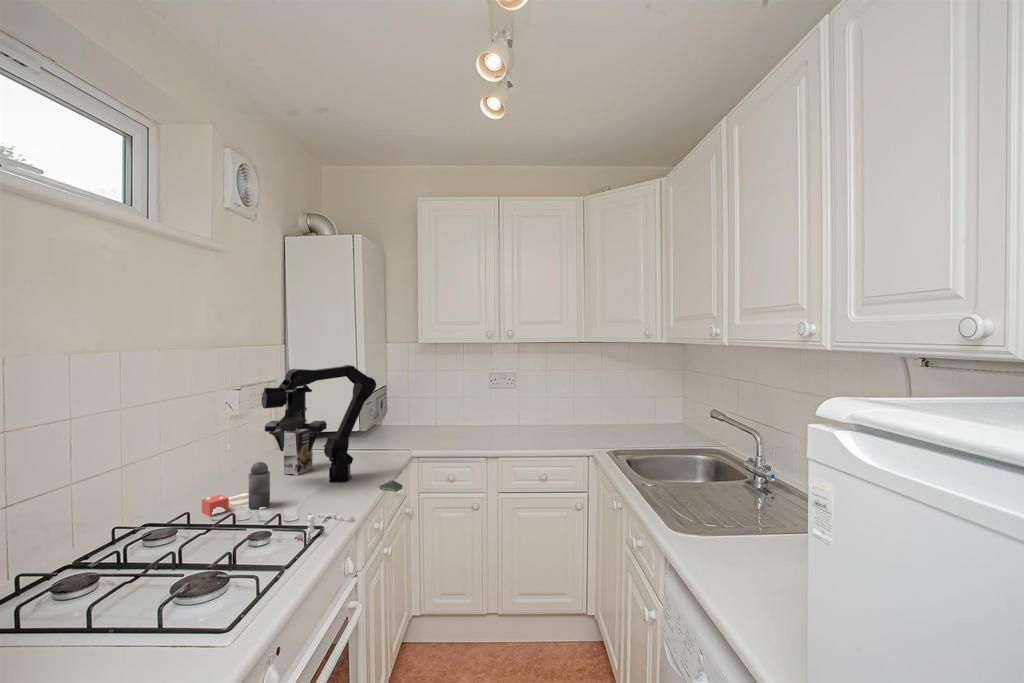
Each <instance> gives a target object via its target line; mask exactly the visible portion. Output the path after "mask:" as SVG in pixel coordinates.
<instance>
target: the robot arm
mask: <svg viewBox="0 0 1024 683" xmlns="http://www.w3.org/2000/svg"><path fill="white" fill-rule="evenodd" d="M345 377H346V378H347V379H348V380H349V381H350V382H351V383H352V384H353V387H352V398H351V401H350V402H349V405H348V407H347V409H346V410H345V411H346V412H345V414H344V416H343V418H342V420H341V423H340V425H339V427H338V429H337V431H336V433H335V434H334V435H333V436H328V437H327V439H326V443H325V444H324V445H323V447H324V449H323V453H324V455H325V456H326V457H327V458H328V460H329V462H331V463H330V467H329V468H328V469H329V470H328V473H329V474H328V479H329V480H328V482H329V483H347V482H348V481H349V480H350V479H351V478H352V477H353V475H351V465H352V464H353V461H354V457H352V455H350V454H349V453H348V450H349V446H350V445H349V444H350V441H349V440H350V436H351V434H352V431H353V429H354V427H355V424H356V422H357V420H358V418H359V415H360V414H361V411H362V409H363V407H364V404H365V402H366V401H367V400H368V399H369V398H370V397H371V396H372V395H373V393H374V391H375V390H376V387H377V382H376V380H375V379H374V378H373V377H370V376H368V375H366V374H365V373H363V372H362V371H360V370H358V369H357V368H356V367H355V366H354V365H351V364H350V365H349V364H348V365H347V364H345V365H342V366H333V367H327V368H326V367H325V368H317V369H307V368H305V369H304V368H291V369H289V370H287V372H286V374H285V378H284V380H282V382H281V383H280V385H279V386H278V387H264V388H263V392H262V395H261V397H260V398H261V406H262V407H261V408H263V409H264V410H265V409H274V408H275V409H276V408H283V407H284V406H285V405H286V409H285V411H284V416H283V417H282V418H280V420H270V421H269V422H266V423H265V425H264V432H265V433H267V432H268V434H269V435H272V436H273V437H274V439H275V441H276V442H277V444H278V448H279V449H280V450H279V451H280V452H284V433H285V432H288V431H290V432H292V431H295V430H296V429H309V430H310V431H311V432H309V433H308V434H309V446H308V449H309V451H311V449H312V447H313V446H314V444H315V442H316V439H317V438H318V436H319V434H320V433H322V432H323V431H325V430H326V429H327V422H326V421H325V420H313V421H312V422H308V423H307V418H306V411H307V409H308V407H306V403H307V402H306V401H307V400H306V399H307V398H306V396H307V395H306V393H312V392H313V389H311V388H310V387H309V386H308V385H310V384H312V383H314V382H317V381H323V380H330V379H337V378H345ZM313 448H314V447H313Z"/></svg>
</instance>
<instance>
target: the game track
mask: <svg viewBox="0 0 1024 683" xmlns="http://www.w3.org/2000/svg"><path fill="white" fill-rule="evenodd" d="M228 498H229V504H231V505H233V506H234V507H237V506H241V507H243V508H244V507H249V492H245V493H241V494H237V495H234V496H230V497H228ZM274 506H277V504H276V503H273V502H271V501H270V506H268V508H270V507H274ZM258 511H259V510H251V509H250V512H249V513H255V512H258Z"/></svg>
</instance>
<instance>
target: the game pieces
mask: <svg viewBox="0 0 1024 683" xmlns="http://www.w3.org/2000/svg"><path fill="white" fill-rule="evenodd" d="M373 488H377V489H379V490H383V491H387V492H388V491H389V492H396V493H398V492H399V491H401V490H403V488H404V487H403V484H401V483H399V482H396V481H394V480H393V479H392V480H389V481H388V482H384V483H383V484H381V485H375V486H373ZM319 516H320V517H319ZM323 516H330V517H335V516H336V517H335V518H336V519H335V520H337V519H338V521H342V522H347V523H353V522H354V521H355V516H352V515H350V516H348V517H347V516H346V515H345V514H342V515H338V516H337V513H333V512H329V513H328V512H323V513H320V514H318V517H319V518H324V517H323ZM315 519H316V518H315V515H313V514H310V515H309V516H307V525H306V526H307V530H306V531H307V532H308V533H309V534H308V538H307V539H308V540H309V539H310V538H311V535H310V534H311V533H313V532H314V531H315V529H314V528H315V524H316V523H315ZM303 533H304V532H302V533H301V534H298V535H297V536H295V537H294V540H295V539H298V540H297V541H299V540H301V541H300V542H304V541H303V539H304V537H303ZM309 541H310V540H309Z"/></svg>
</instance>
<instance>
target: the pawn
mask: <svg viewBox="0 0 1024 683" xmlns="http://www.w3.org/2000/svg"><path fill="white" fill-rule="evenodd" d="M248 494H249V508H250V509H251V510H258V511H260V510H259V508H260V507H268V506H270V502H271V472H270V471H269V467H268V464H266V463H265V462H263V461H258V462H256V463H254V464H253V465H252V466H251V468H250V472H249V473H248ZM268 508H269V507H268Z"/></svg>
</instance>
